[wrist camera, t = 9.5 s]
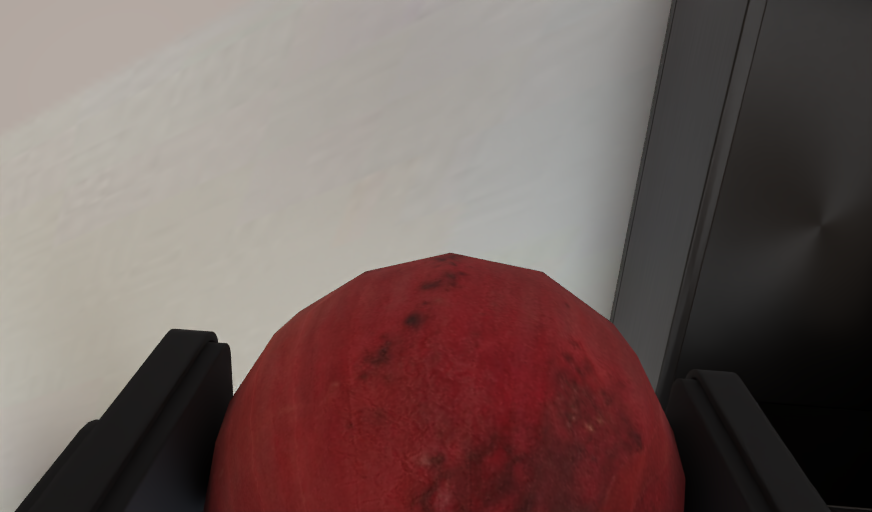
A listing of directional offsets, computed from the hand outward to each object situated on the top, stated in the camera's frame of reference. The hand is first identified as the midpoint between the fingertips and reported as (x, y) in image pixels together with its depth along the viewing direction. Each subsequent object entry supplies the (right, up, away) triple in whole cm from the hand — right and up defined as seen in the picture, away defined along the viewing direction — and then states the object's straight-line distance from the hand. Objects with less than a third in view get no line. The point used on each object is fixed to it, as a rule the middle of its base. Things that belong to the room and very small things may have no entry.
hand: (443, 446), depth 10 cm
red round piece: (0, +1, +3) cm, 3 cm away
